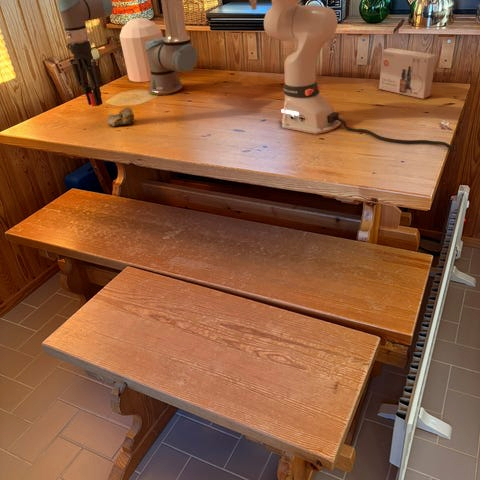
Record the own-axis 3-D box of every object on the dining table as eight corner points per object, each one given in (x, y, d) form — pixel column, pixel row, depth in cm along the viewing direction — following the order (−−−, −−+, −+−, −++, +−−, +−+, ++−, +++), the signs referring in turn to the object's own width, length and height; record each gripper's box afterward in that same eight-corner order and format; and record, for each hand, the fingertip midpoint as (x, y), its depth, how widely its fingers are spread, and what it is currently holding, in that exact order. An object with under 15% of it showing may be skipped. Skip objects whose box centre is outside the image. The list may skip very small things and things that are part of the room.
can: (97, 102, 185) (94, 91, 182) (102, 104, 183) (99, 92, 180) (90, 105, 183) (86, 93, 180) (95, 106, 181) (91, 95, 178)
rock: (108, 124, 190) (108, 128, 182) (105, 108, 188) (104, 111, 179) (134, 120, 192) (135, 124, 184) (131, 104, 190) (132, 107, 181)
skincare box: (377, 89, 194) (381, 50, 185) (385, 86, 197) (389, 47, 188) (423, 99, 180) (429, 56, 171) (430, 95, 183) (437, 53, 174)
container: (160, 81, 233) (149, 21, 217) (121, 82, 238) (108, 23, 222) (174, 69, 249) (165, 13, 233) (138, 70, 254) (126, 15, 238)
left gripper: (55, 43, 170) (73, 105, 184) (87, 44, 163) (104, 109, 176) (70, 38, 175) (87, 99, 189) (102, 39, 168) (117, 103, 181)
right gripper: (240, -33, 188) (243, 4, 195) (244, -29, 171) (247, 12, 179) (256, -35, 188) (258, 3, 196) (261, -31, 171) (263, 10, 179)
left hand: (95, 104), depth 182 cm, fingers closed on can, 4 cm apart
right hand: (253, 7), depth 187 cm, fingers open, 8 cm apart
